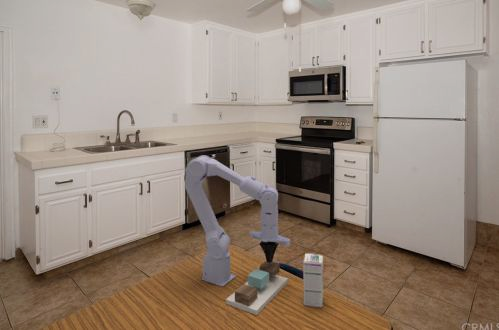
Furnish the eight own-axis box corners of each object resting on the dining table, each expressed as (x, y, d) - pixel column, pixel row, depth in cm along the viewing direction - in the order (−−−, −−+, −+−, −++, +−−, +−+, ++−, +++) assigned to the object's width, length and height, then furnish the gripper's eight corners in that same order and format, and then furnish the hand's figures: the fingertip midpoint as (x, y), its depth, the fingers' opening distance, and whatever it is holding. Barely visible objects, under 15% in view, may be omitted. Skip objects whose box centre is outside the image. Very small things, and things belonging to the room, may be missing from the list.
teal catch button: (248, 284, 103) (247, 275, 103) (256, 277, 107) (255, 268, 107) (261, 288, 101) (261, 279, 100) (269, 281, 105) (269, 272, 104)
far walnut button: (259, 274, 110) (259, 265, 109) (266, 268, 114) (266, 260, 113) (272, 278, 107) (272, 269, 106) (279, 272, 111) (279, 263, 111)
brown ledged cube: (234, 301, 97) (234, 291, 97) (243, 293, 101) (243, 283, 101) (248, 306, 95) (248, 296, 94) (257, 297, 99) (257, 288, 98)
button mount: (226, 303, 99) (225, 293, 98) (260, 274, 116) (260, 265, 116) (256, 315, 93) (256, 304, 92) (287, 282, 110) (288, 273, 110)
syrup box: (322, 308, 96) (323, 262, 94) (302, 305, 97) (303, 260, 95) (322, 297, 101) (323, 254, 99) (304, 295, 103) (304, 252, 100)
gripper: (244, 223, 108) (245, 261, 110) (283, 231, 100) (283, 271, 102) (255, 217, 114) (256, 253, 116) (293, 224, 106) (293, 262, 108)
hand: (269, 261), depth 110 cm, fingers closed
